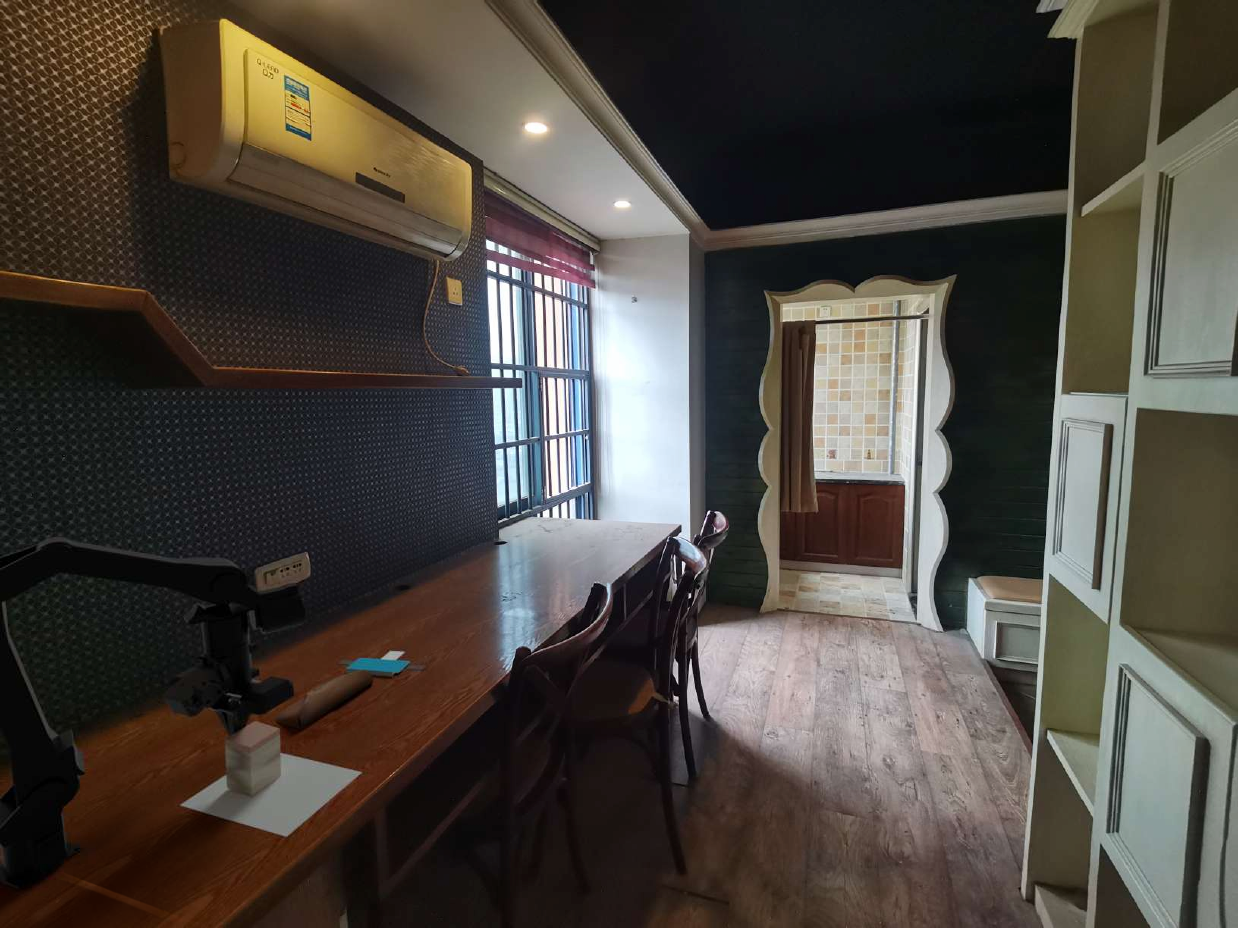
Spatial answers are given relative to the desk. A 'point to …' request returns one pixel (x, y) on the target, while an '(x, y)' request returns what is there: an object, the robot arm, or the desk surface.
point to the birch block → (253, 758)
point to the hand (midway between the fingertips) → (236, 739)
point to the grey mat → (277, 796)
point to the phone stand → (381, 665)
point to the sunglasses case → (324, 699)
